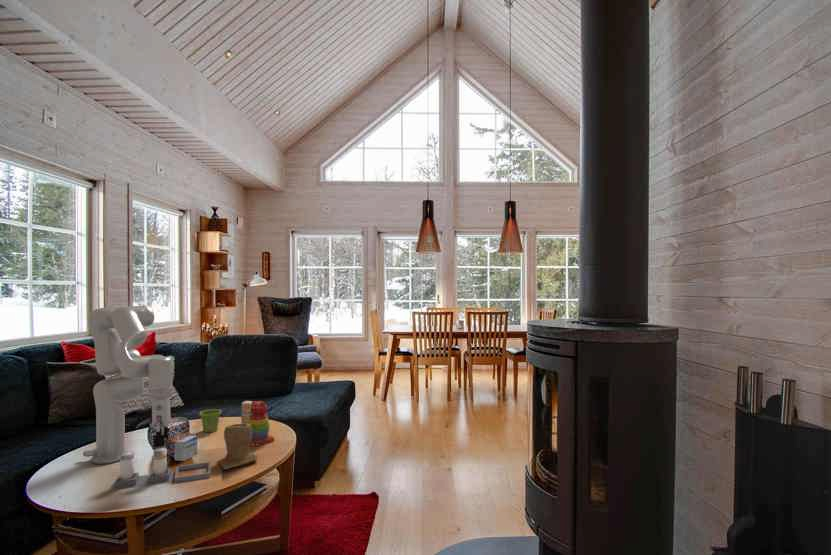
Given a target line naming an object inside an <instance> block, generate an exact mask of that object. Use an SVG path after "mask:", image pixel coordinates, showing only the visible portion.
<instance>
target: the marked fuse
mask: <svg viewBox="0 0 831 555" xmlns="http://www.w3.org/2000/svg"><path fill="white" fill-rule="evenodd" d="M167 451H168V449H167V447H159V448H158V447H157V448H154V450H153V470H154V476H157V475H165V474H167V469H168V467H167V466H168V465H167V464H168V462H167V458H168V456H167V455H168V454H167V453H168V452H167Z"/></svg>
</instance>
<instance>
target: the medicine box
mask: <svg viewBox="0 0 831 555" xmlns="http://www.w3.org/2000/svg"><path fill="white" fill-rule="evenodd" d="M187 436H188V437H187ZM187 436H185V437H182V438H180V439H178V440H176V441H175V442H174V461H180V462H185V461H187V460H189V459H191V458H192V457H195V456H196V455H198V436H197V435H187Z"/></svg>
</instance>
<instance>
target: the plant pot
mask: <svg viewBox="0 0 831 555" xmlns="http://www.w3.org/2000/svg"><path fill="white" fill-rule="evenodd" d="M221 413H222V410H221V409H206V410H202V411H200V412H199V416H200V418H201V424H202V429H203V430H202V431H203V432H204V433H213V431H214V432H216V431H217V430H218V427H219V421H220V416H221Z"/></svg>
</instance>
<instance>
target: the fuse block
mask: <svg viewBox="0 0 831 555" xmlns="http://www.w3.org/2000/svg"><path fill="white" fill-rule="evenodd" d="M171 469H172V468H170V467H169V468H168V467H167V474H165V475H157V476H154V469H153V470H151V471H150V474H145V475H140V474H139V472H134V479H129V480H121V481H120V474H119V475H118V476H117V478H116V479H115V481H114V483H113V485H112V487H111V489H110V492H112V491H121V490H126V489H127V490H128V489H135V488H141V487H142V488H143V487H149V486H155V485H156V486H157V485H161V484H162V485H163V484H169V483H172V482H173V479H174V475H175V471H172V470H171Z"/></svg>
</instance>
